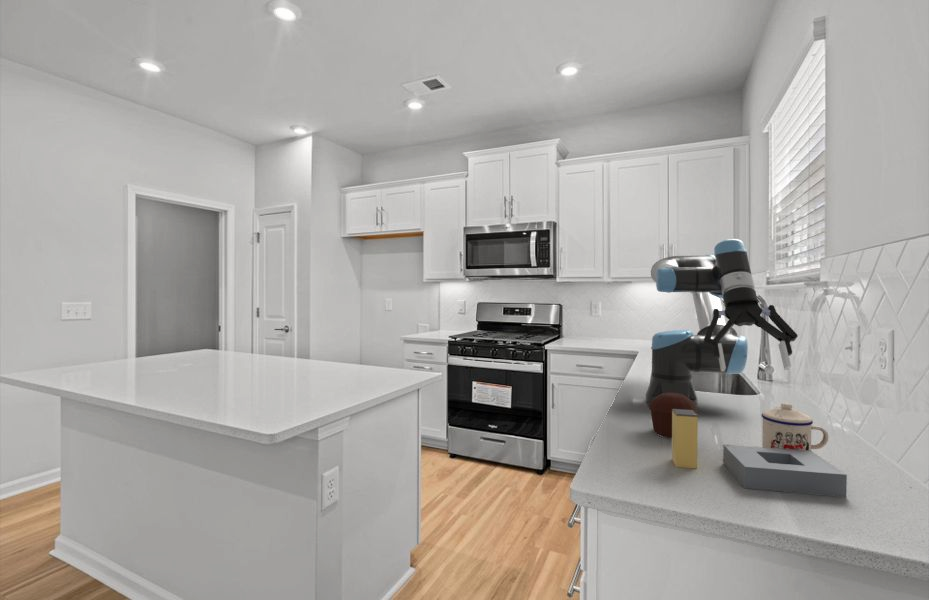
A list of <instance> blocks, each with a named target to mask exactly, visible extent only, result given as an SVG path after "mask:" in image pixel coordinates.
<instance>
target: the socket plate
mask: <svg viewBox="0 0 929 600" xmlns="http://www.w3.org/2000/svg"><path fill="white" fill-rule="evenodd" d="M722 446H723V449H722V451H723V452H722V455H723V456H722V464H723V465H724V466H725V467H726V469H728V471H729V472H730V473H731V474H732V476H734V478H736V480H737V481H738V482H739V484H740V485H741V486H742V487H743V488H744V489H748V490H749V489H750V490H762V491H771V492H773V491H774V492H783V493H795V494H805V495H806V494H807V495H817V496H826V497H827V496H830V497H839V498H840V497H841V498H847V492H848V491H847V484H848V483H847V479H848V477H847V476H848V474H847V473H845V472H843V471H842V470H841V469H840V468H838V467H836V466H835V465H833V464H831V462H829V461H827V460H826V459H824V458H823V457H821V456H820V455H818V454H817V453H815V452H814V451H812V450H811V451H810V450H795V449H780V448H766V447H762V446H749V445H733V444H723V445H722Z"/></svg>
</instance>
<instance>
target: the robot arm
mask: <svg viewBox="0 0 929 600" xmlns="http://www.w3.org/2000/svg"><path fill="white" fill-rule="evenodd" d="M713 251H714V254H713V255H712V254H705V255H671V256H667V257H664V258H661V259H659V260H657V261H655V263H654V264H653V265H652V267H651V268H650V276H651V277H650V278H651V279H652V281H654V283H655V285H656V291H658V292H661V293H691V294H692V297H693V298H692V299H693V303H694V309H695V313H696V317H697V323H698V328H699V330H698V331H697V333H696V334H694V333H693V331H692V330H690V329H677V330H676V329H675V330H667V331H660V332H657V333H655V334H654V335H653V336H652V338H651V347H650V349H651V379H650V381H649V385H648V388H647V390H646V393H645V403H646V404H648V403H650V402H651V401H652V399H653V398H655V397H656V396H658V395H660V394H663V393H678V394H682V395H684V396H686V397H688V398H689V399H690V400H692V402H693V403H694V404H695V406H696V408H697V409H698V406H699V400H698V399H699V398H698V396H697V392H696V390H695V387H694V383H693V379H692V377H693V373H706V374H709V373H710V374H726V375H733V374H734V375H738V374H742V373H743V372H744V370H745V368H746V365H747V360H748V350H749V349H748V339H747V337H746V336H744V335H740V334H739V335H738V333H737V331H736V329H735V328H734V325H735V326H737V327H742V326H749V327H751V326H753V325H754V326H756V327H757V328H760V329H762V330H763V331H764V332H766V333H768V335H770V336H771V337H772V338H775V340H777V341H778V342H779V344H778V350H779V352H780V357H781V361H782V365H783V369H784V371H788V370H790V368H791V367H792V365H791V361H790V356H792V354H793V349H792V345H791V342H795V340H796V339H797V338H798V334H797V332H795V330H793V328H792V327H791V326H790V325H789V324H788V323H787V321H785V320H784V319H783V318H782V316H780V314H779V313H778V312H777V310H776V308H775V305H773V304H770V305H768V306H767V307H761V306H760V304H759V301H758V296H757V292H756V290H755V289H756V287H755V284H754V280H753V276H752V271H751V267H750V261H749V257H748V256H749V255H748V251H747V248H746V246H745V242H743V241H742V240H740V239H737V238H730V239H725V240H722V241H720V242H719V243H717V244H716V245H715V246H714V249H713ZM762 314H764V315H765V317H766V316H767V317H768V318H769V319H770V320H771V322H772V323H773V324H774V325H775V326H776V327H775V326H774V325H773V324H772V323H770V322H769V321H767V320H766V319H765V317H763V316H761V315H762Z"/></svg>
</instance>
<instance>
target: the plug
mask: <svg viewBox="0 0 929 600" xmlns="http://www.w3.org/2000/svg"><path fill="white" fill-rule="evenodd" d="M698 417H699V416H698V413H695V412H694V411H693V410H683V409H672V438H671V461H672V463H673V464H674V466H675V468H687V469H688V468H689V469H698V433H699V432H698V431H699V430H698V428H699V427H698V425H699V424H698V422H699V419H698Z"/></svg>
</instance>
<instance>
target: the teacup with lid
mask: <svg viewBox="0 0 929 600" xmlns="http://www.w3.org/2000/svg"><path fill="white" fill-rule="evenodd" d="M761 418H762V438H761V439H762V440H761V441H762V443H761V445H762V446H761V447H766V448H780V449H795V450H810V451H812V450H819V449H822V448H824V447H825V446H826V445H827V444H828V443H829V434H828V431H827V430H826V429H825V428H823V427H821V426H819V425H814V424H813V423H814V422H813V419H812V417H811V416H809V415H808V414H805V413H803V412H801V411H799V410H797V409H795V408H793V404H791V403H789V402H782V403H781V404H780V406H777V407H775V408H772V409H767V410H764V411H762V413H761ZM812 430H814V431H815V430H817V431H821V432H822V439H821V441H820V442H819V443H817V444H812Z"/></svg>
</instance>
